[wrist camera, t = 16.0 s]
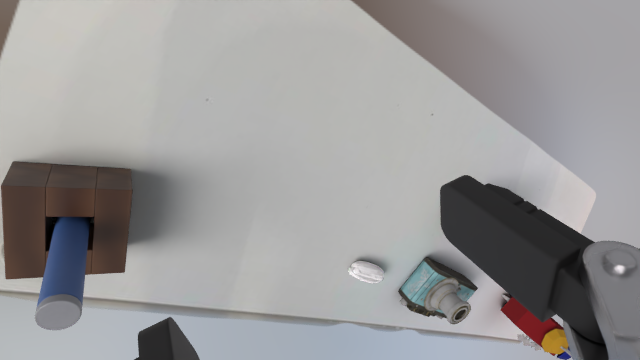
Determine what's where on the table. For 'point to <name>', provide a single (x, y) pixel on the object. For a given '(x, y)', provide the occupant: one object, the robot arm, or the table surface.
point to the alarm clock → (537, 330)
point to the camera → (438, 292)
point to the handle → (64, 274)
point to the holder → (64, 214)
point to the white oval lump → (366, 272)
